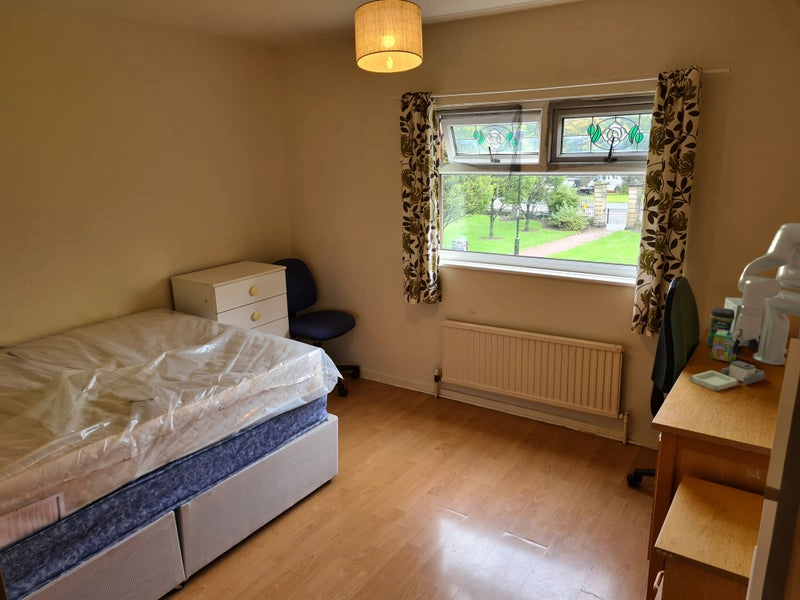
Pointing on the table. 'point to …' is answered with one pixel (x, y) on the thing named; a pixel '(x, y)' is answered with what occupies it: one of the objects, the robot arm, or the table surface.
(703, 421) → the table surface
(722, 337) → the chalk box
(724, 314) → the coffee jar
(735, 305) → the hard drive box
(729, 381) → the dock tray
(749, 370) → the grey box with knob
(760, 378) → the bay
